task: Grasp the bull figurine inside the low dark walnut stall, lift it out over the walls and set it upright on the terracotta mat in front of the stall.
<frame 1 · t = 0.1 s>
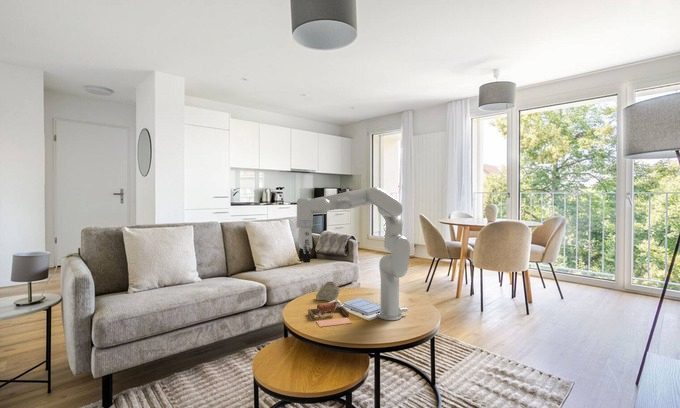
hand: (304, 260, 151), 31 cm above the table, tool pointing down, fingers open, 9 cm apart
fossil tooth: (327, 300, 192), on the table
stall: (328, 315, 165), on the table
mat: (334, 322, 156), on the table
bull figurine: (328, 316, 165), resting in stall
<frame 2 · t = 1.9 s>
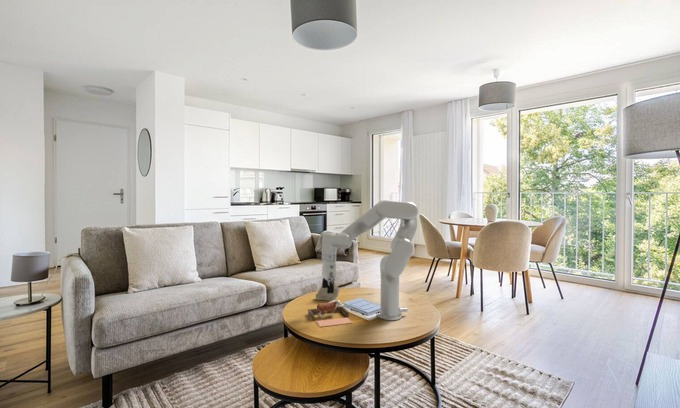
hand: (327, 290, 165), 13 cm above the table, tool pointing down, fingers open, 9 cm apart
nothing on the table moved.
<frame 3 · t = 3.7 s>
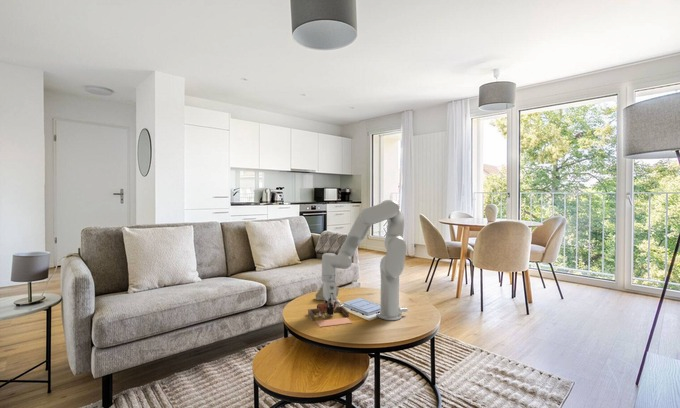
hand: (328, 312, 165), 2 cm above the table, tool pointing down, fingers closed on bull figurine, 4 cm apart
bull figurine: (328, 316, 165), resting in stall, touching gripper
everything else where it was.
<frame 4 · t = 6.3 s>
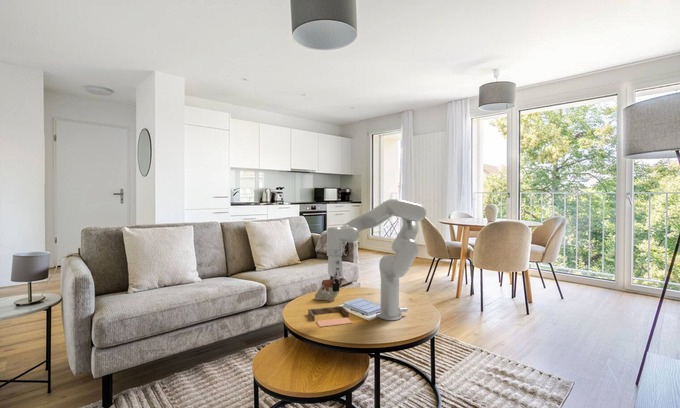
hand: (334, 289, 157), 16 cm above the table, tool pointing down, fingers closed on bull figurine, 4 cm apart
bull figurine: (334, 293, 157), point 14 cm above the table, touching gripper
everything else where it was.
when the fingers open (4 cm above the table, at t = 9.0 s): bull figurine drops 1 cm, resting on mat.
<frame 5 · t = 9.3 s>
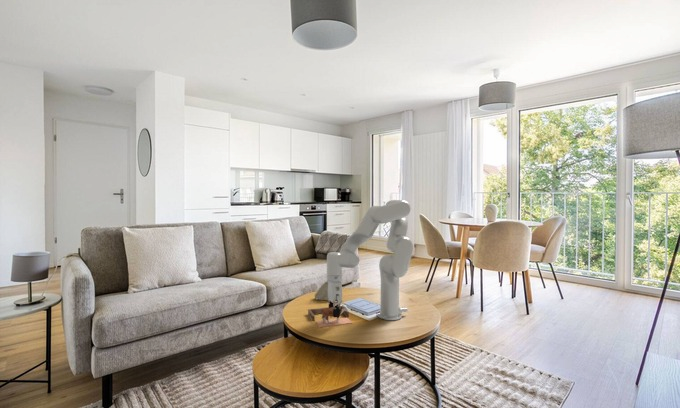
hand: (334, 313, 156), 4 cm above the table, tool pointing down, fingers open, 7 cm apart
bull figurine: (334, 322, 157), resting on mat
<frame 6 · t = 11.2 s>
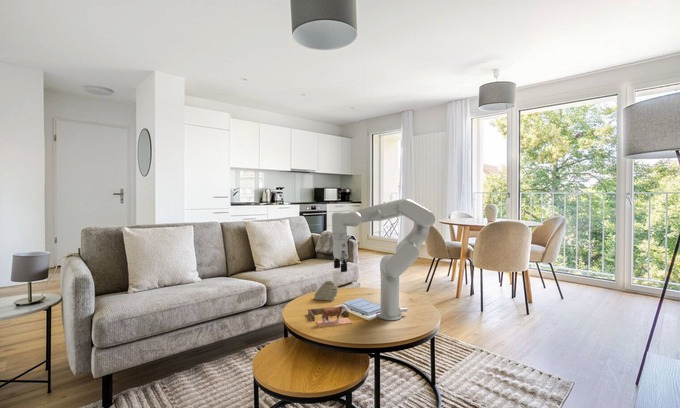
hand: (340, 269, 164), 24 cm above the table, tool pointing down, fingers open, 9 cm apart
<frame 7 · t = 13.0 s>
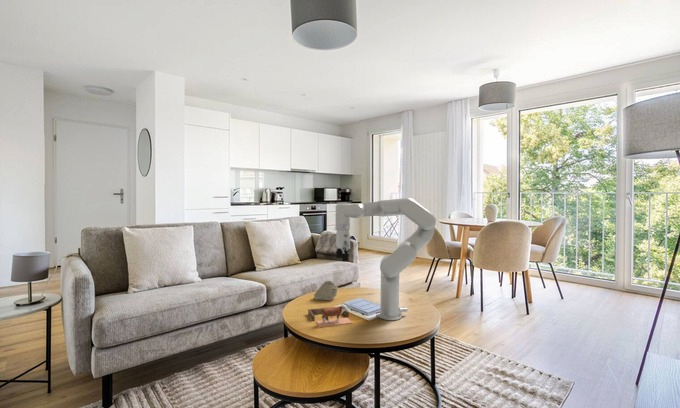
hand: (342, 259, 170), 28 cm above the table, tool pointing down, fingers open, 9 cm apart
at the end: bull figurine inside the target area on the mat (0.3 cm from its centre), point 0.2 cm above the mat's base; bull figurine tilted 0°; the gripper is holding nothing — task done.
